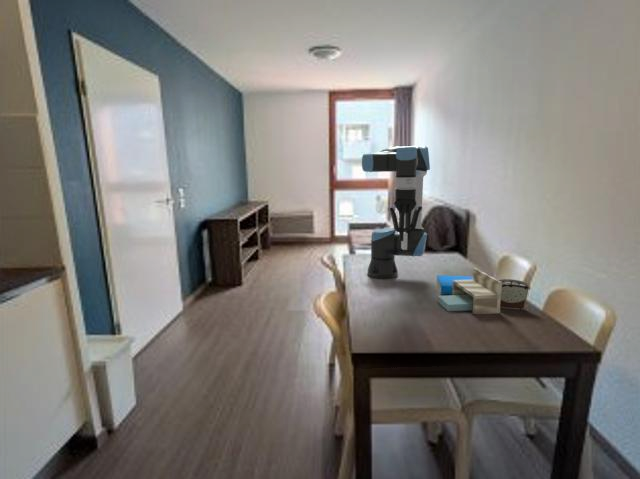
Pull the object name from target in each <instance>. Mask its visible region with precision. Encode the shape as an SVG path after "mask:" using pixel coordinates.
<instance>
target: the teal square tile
mask: <svg viewBox="0 0 640 479" xmlns="http://www.w3.org/2000/svg"><path fill="white" fill-rule="evenodd" d="M437 303H438V304H440V305H441V307H443V309H445V310H446V311H447V312H457V311H459V312H460V311H473V299H472V298H471V297H469V296H468V295H452V294H448V295H438V296H437Z"/></svg>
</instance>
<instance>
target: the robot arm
mask: <svg viewBox="0 0 640 479" xmlns="http://www.w3.org/2000/svg"><path fill="white" fill-rule="evenodd" d="M429 153H430V152H429V148H428V147H427V146H426V145H410V146H408V145H407V146H406V145H405V146H404V145H403V146H399V145H398V146H393V147H388V148H385V149H382V150H380V151H379V152H368V153H367V152H366V153H363V154H362V157H361V167H362V168H361V169H362V171H363V172H367V173H368V172H369V173H376V172H377V173H381V172H382V173H383V172H394V173H395V188H396V189H395V192H394V193H395V196H394V197H395V198H394V199H395V200H394V203H393V205H391V206H388V208H387V209H388V211H389V212H390V216H391V219H392V224H393V228H389V227H387V228H381V229H376V230H374V231H372V233H371V237H370V238H371V239H370V244H371V245H370V249H371V250H370V262H369V265H368V268H367V276H368V277H370V278H373V279H383V280H384V279H387V280H388V279H394V278H396V277H398V275H399V270H398V268H397V264H396V260H395V257H396V256H400V257H402V256H403V257H422V256H423V255H424V253H425V250H426V244H427V236H428V233H427V232H425V228H424V227H423V226H422V219H423V218H422V215H423V210H422V209H423V195H424V194H423V192H424V190H423V189H424V177H425V176H426V175H427V172H428V171H430V170H431V166H430V165H431V164H430V157H429V156H430V154H429ZM396 210H397V211H398V216H399V217H397V212H396Z"/></svg>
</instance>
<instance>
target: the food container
mask: <svg viewBox="0 0 640 479" xmlns="http://www.w3.org/2000/svg"><path fill="white" fill-rule="evenodd" d="M498 280H499V281H501V282H502V289H501V302H500V309H501V308H502V309H511V310H520V309H522V311H524V310H525V307H526V301H527V298H528V292H529V291H531V287H530V284H529V283H527V282H525V281H522V280H518V279H511V278H510V279H508V278H504V279H503V278H502V279H498Z"/></svg>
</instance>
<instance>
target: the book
mask: <svg viewBox="0 0 640 479" xmlns="http://www.w3.org/2000/svg"><path fill="white" fill-rule="evenodd" d="M471 279H473V276H468V275H467V276H466V275H465V276H463V275H462V276H461V275H436V285H437V288H438V290H439V293H440V294H441V295H452V287H453V280H471Z"/></svg>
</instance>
